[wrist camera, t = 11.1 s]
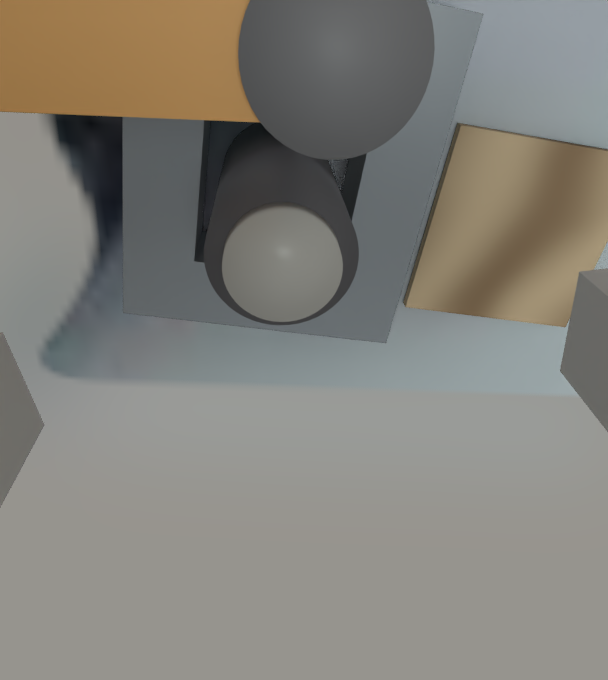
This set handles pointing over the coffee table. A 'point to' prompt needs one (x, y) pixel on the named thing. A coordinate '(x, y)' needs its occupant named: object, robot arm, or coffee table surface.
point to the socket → (358, 194)
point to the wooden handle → (225, 64)
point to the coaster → (512, 227)
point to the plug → (278, 233)
